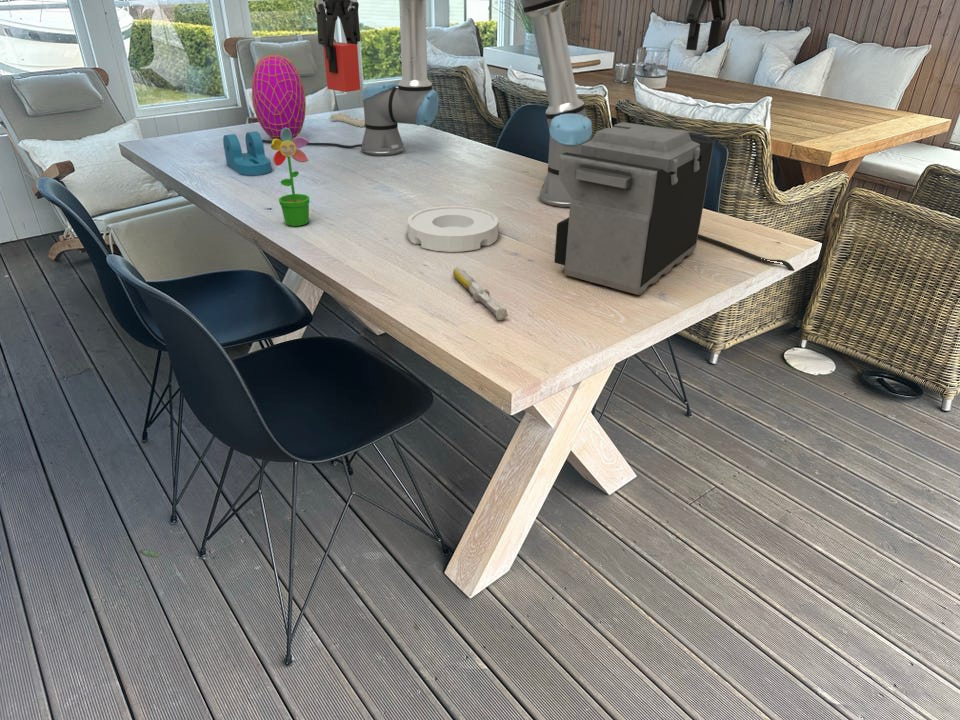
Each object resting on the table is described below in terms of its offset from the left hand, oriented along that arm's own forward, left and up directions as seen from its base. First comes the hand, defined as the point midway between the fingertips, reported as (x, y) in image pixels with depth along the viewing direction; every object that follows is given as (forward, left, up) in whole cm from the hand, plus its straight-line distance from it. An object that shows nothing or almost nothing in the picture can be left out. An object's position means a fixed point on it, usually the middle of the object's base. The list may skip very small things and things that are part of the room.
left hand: (342, 71), depth 192 cm
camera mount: (-44, +5, -34) cm, 56 cm away
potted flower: (+4, -31, -34) cm, 46 cm away
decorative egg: (-61, +42, -34) cm, 82 cm away
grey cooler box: (+90, -18, -34) cm, 98 cm away
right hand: (+89, +46, +7) cm, 101 cm away
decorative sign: (-60, +83, -34) cm, 108 cm away
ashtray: (+45, -20, -34) cm, 60 cm away
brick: (0, 0, -5) cm, 5 cm away
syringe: (+67, -50, -34) cm, 91 cm away
